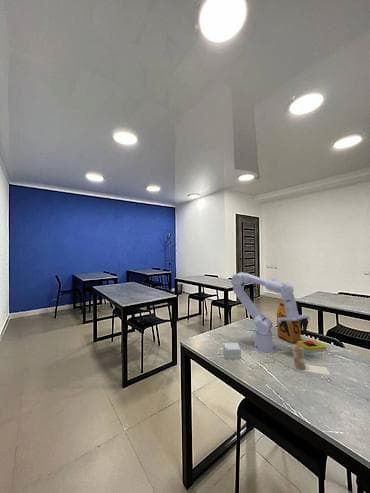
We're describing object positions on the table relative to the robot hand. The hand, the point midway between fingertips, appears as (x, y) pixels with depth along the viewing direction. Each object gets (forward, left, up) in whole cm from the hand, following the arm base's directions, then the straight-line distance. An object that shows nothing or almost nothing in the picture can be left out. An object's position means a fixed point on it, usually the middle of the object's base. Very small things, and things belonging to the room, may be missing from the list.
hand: (297, 335), depth 108 cm
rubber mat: (+2, -11, -11) cm, 15 cm away
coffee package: (-2, +21, -11) cm, 24 cm away
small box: (-31, -9, -11) cm, 34 cm away
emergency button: (+8, +11, -11) cm, 18 cm away
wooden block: (0, -11, -10) cm, 15 cm away
